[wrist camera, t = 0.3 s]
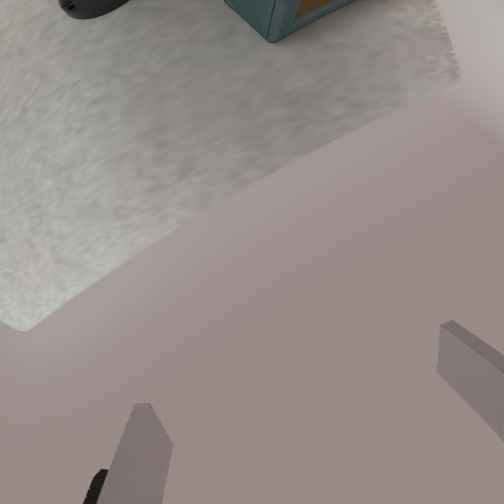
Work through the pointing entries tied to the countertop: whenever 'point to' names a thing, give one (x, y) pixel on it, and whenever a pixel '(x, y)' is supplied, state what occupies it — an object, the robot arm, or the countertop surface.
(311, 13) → the teal lunch box
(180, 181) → the countertop surface
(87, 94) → the countertop surface
